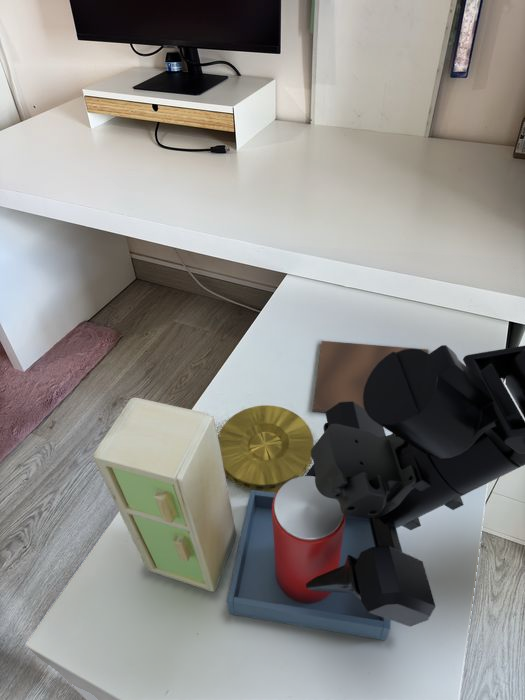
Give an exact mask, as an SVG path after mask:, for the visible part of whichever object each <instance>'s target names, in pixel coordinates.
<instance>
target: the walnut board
mask: <svg viewBox="0 0 525 700" xmlns="http://www.w3.org/2000/svg"><path fill="white" fill-rule="evenodd" d="M412 348H413V349H417V348H416V347H415V348H414V347H404V346H403V347H402V346H390V345H379V344H367V343H366V344H365V343H352V342H342V341H329V340H328V341H327V340H321V343H320V351H319V357H318V366H317V375H316V382H315V389H314V397H313V404H312V412H317V413H325V412H326V411H328V410H329V409H331V408H332V407H333V406H335V405H336V404H338V403H339V402H342V401H353V402H355V403H356V404H358V405H359V406H361V407H362V408H364V404H363V393H364V387H365V384H366V382H367V379H368V377H369V375H370V374H371V372H372V370H373V369H374V368H375V366H376V365H377V364H378V363H379V362H380V361H381V360H382V359H383V358H384V357H386V356H387V355H389V354H390V353H392V352H399V351H401V350H404V349H412ZM419 349H420V350H422V351H424V352H427V353H428V354H430V352H429V349H426V348H419ZM364 409H365V408H364ZM325 414H326V413H325Z"/></svg>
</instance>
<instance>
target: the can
mask: <svg viewBox="0 0 525 700" xmlns="http://www.w3.org/2000/svg"><path fill="white" fill-rule="evenodd" d="M345 518H346V515H344V514H343V513H342V512H341V508H340V504H339V501H338V500H337V499H332V498H328V497H325V496H323V495H322V494H321V493H320V492H319V491H318V489H317V487H316V484H315V477H314V476H305V475H303V476H301V477H297V478H294V479H292V480H290V481H288V482H287V483H285V484H284V485H283V486H282V487H281V488H280V489H279V490H278V491H277V493H276V495H275V497H274V499H273V503H272V520H273V537H274V554H275V571H276V579H277V582H278V584H279V587H280V588H281V590H282V591H283V592H284V593H285V594H286V595H287V596H288V597H289V598H291V599H293V600H294V601H297V602H300V603H306V604H310V603H316V602H319V601H321V600H323V599H325V598H326V597H327V596H328V595H330V593H331V592H320V591H312V590H309V589H306V583H308V582H309V581H311V580H312V579H314V578H315V577H317V576H320V575H322V574H325V573H327V572H329V571H332V570H334V569H336V568H339V562H340V555H341V548H342V540H343V533H344V526H345Z"/></svg>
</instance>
